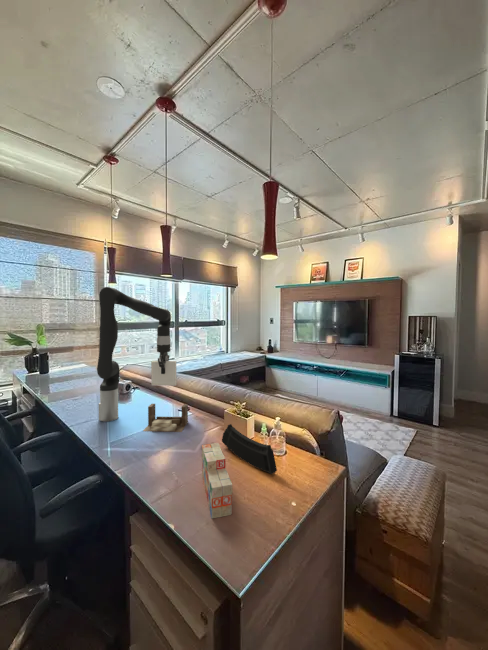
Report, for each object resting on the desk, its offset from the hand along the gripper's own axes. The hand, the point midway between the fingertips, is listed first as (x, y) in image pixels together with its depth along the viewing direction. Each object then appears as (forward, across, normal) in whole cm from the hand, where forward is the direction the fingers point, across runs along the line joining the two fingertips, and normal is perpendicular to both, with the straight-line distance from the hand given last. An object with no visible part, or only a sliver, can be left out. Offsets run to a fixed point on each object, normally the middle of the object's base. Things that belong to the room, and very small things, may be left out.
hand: (163, 373), depth 155 cm
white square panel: (+7, 0, 0) cm, 7 cm away
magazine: (+26, +44, +50) cm, 71 cm away
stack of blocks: (+26, +66, +40) cm, 81 cm away
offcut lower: (+25, +18, +6) cm, 31 cm away
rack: (+26, +14, +6) cm, 30 cm away
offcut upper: (+23, +18, +5) cm, 30 cm away
